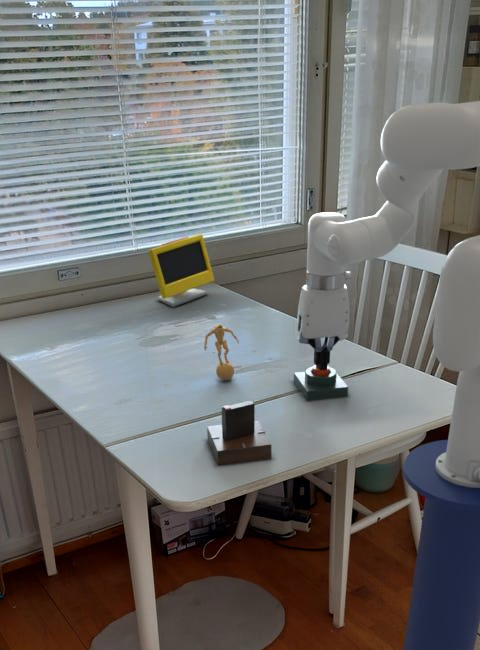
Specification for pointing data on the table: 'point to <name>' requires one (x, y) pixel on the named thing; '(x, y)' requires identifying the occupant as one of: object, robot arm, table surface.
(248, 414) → the handle
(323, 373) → the button
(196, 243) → the toy computer monitor
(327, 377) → the box
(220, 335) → the figurine
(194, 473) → the table surface
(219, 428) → the panel
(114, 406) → the table surface
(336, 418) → the table surface
